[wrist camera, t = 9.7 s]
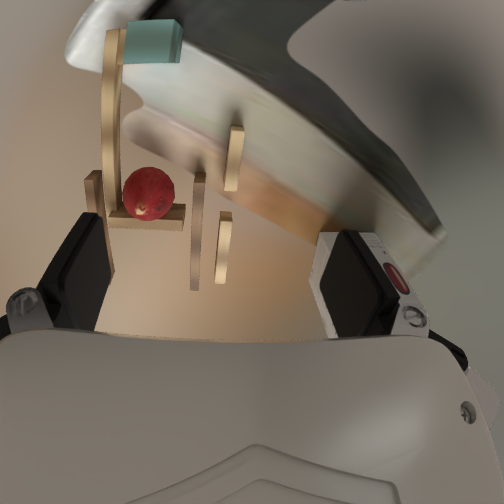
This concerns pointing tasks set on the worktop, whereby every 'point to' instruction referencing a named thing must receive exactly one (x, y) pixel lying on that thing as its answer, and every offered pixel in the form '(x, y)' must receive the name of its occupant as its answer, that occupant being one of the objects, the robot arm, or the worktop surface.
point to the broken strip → (229, 185)
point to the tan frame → (115, 55)
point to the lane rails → (98, 206)
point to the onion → (148, 194)
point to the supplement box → (383, 257)
